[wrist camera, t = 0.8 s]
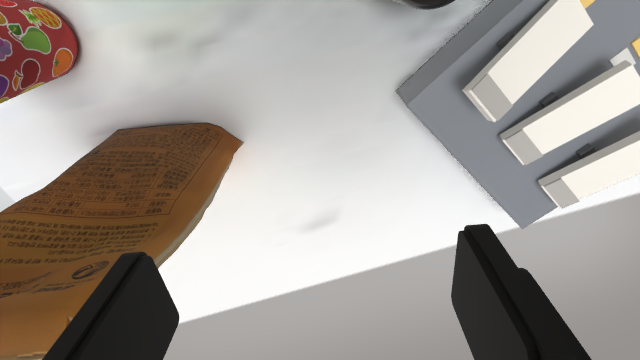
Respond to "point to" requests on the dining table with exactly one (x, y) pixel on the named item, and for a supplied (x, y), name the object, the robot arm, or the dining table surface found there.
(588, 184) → the rocker
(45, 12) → the smoothie
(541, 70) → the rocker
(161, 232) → the pancake mix bag
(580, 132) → the rocker
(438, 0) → the supplement bottle
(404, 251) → the dining table surface
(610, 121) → the console
